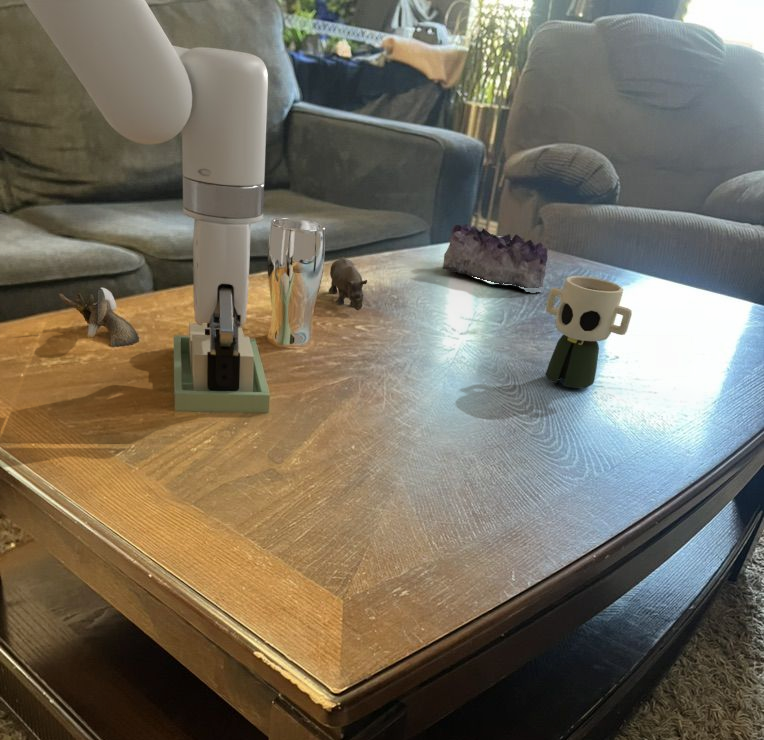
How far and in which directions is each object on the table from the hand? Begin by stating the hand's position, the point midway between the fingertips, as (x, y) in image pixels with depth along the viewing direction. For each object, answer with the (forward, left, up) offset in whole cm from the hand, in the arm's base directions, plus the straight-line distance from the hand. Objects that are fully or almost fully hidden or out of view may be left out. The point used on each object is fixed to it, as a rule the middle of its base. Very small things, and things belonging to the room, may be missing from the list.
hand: (221, 375), depth 83 cm
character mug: (+45, +7, -3) cm, 46 cm away
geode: (+52, +56, -3) cm, 76 cm away
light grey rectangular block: (0, 0, -1) cm, 1 cm away
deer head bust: (-13, +17, -3) cm, 22 cm away
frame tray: (0, +4, -3) cm, 5 cm away
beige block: (0, +8, -2) cm, 9 cm away
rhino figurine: (+21, +36, -3) cm, 42 cm away
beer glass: (+10, +18, -3) cm, 21 cm away
